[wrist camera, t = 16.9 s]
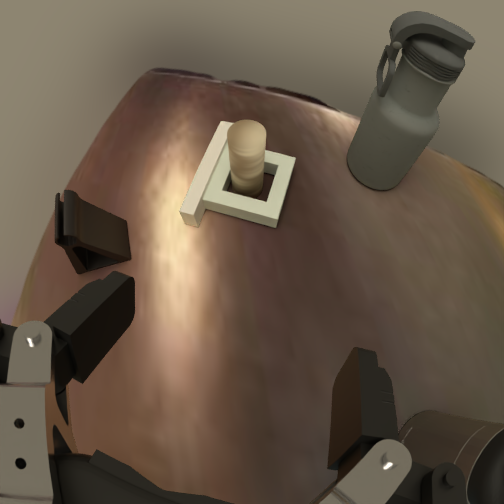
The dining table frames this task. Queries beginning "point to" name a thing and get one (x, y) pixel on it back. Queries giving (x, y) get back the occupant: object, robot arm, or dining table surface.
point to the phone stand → (89, 234)
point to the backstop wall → (204, 177)
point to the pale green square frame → (247, 206)
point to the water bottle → (407, 97)
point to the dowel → (247, 157)
